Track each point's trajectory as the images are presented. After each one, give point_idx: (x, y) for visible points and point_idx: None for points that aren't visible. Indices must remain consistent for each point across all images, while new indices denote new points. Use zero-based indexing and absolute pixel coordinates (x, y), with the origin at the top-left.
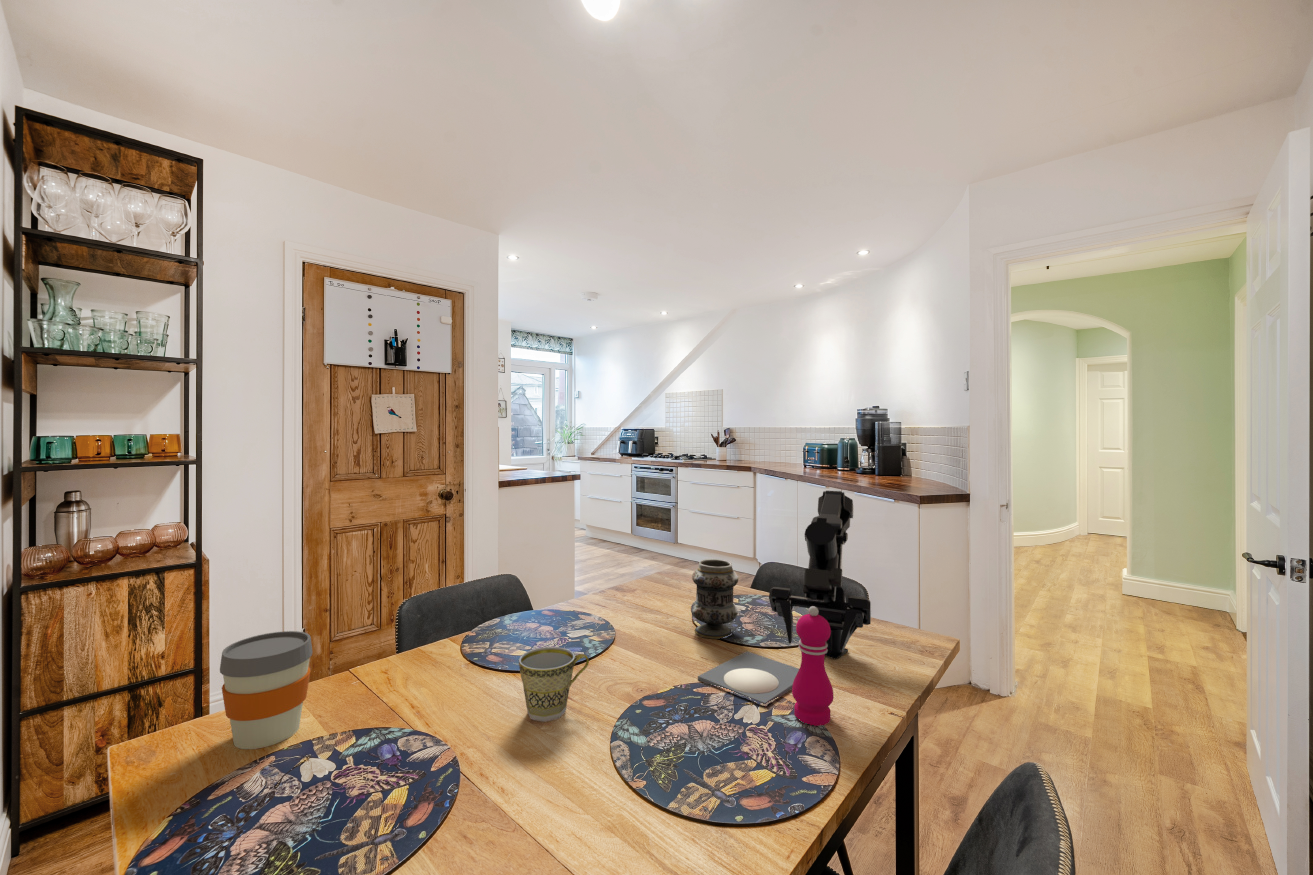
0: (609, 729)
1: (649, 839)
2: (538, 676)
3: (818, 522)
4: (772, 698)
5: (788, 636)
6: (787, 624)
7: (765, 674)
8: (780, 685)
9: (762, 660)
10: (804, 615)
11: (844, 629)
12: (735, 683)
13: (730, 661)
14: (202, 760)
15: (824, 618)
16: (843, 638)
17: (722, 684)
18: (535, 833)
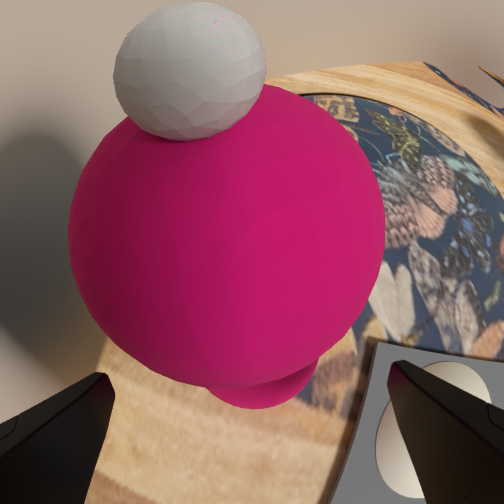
0: (485, 170)
1: (339, 78)
2: None
3: None
4: (370, 377)
5: (416, 367)
6: (468, 404)
7: (418, 484)
8: (369, 457)
9: None
10: (317, 125)
11: (27, 427)
12: (463, 388)
13: None
14: None
15: (81, 192)
16: (62, 399)
17: (480, 366)
18: (400, 74)
